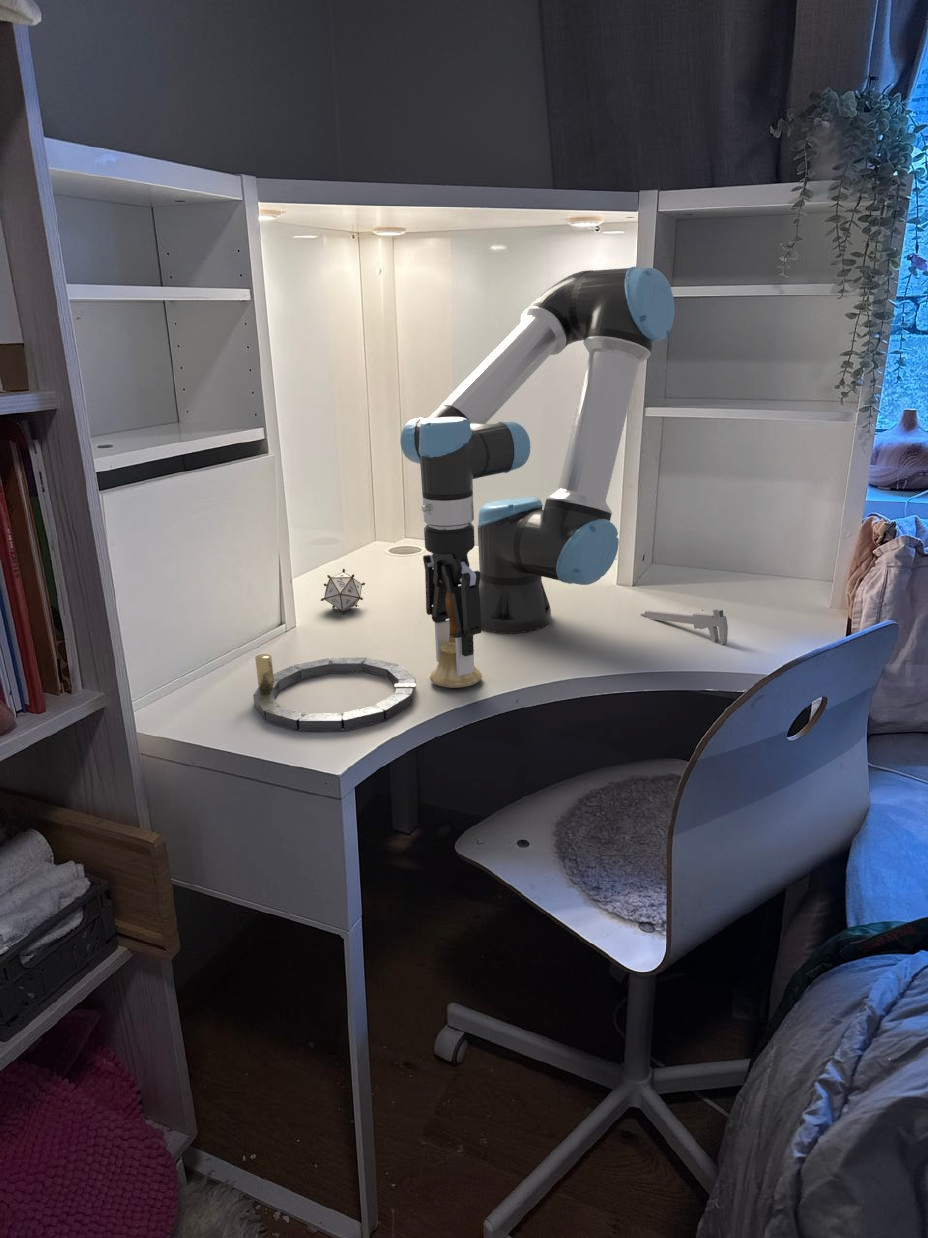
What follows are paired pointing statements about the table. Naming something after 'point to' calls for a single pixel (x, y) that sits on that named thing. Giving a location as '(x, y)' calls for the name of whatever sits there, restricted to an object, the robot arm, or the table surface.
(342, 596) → the game die
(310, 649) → the table surface
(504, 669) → the table surface
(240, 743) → the table surface
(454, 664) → the hand bell
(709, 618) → the caliper
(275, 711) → the ring
